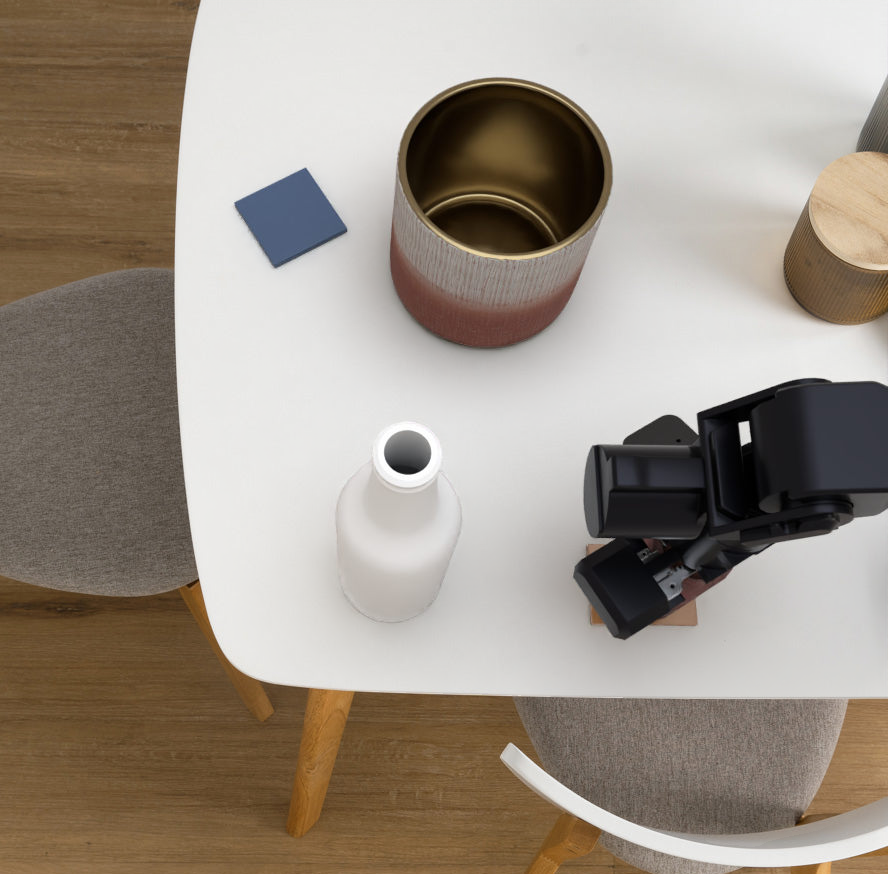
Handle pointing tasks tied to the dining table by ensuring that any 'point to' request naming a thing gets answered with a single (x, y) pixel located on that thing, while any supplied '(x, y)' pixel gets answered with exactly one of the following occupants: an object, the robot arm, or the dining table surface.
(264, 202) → the slate mat
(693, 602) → the caramel mat
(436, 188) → the planter
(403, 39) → the dining table surface
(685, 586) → the can
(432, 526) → the alcohol
